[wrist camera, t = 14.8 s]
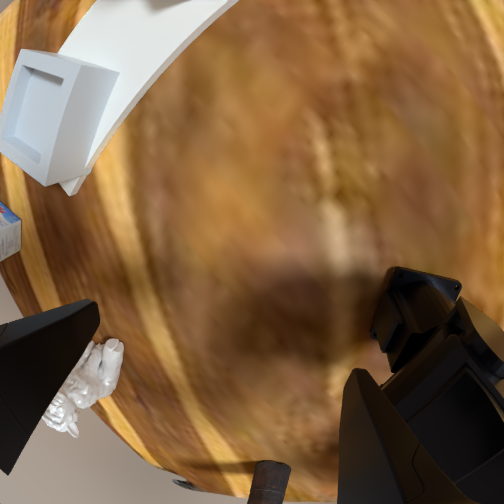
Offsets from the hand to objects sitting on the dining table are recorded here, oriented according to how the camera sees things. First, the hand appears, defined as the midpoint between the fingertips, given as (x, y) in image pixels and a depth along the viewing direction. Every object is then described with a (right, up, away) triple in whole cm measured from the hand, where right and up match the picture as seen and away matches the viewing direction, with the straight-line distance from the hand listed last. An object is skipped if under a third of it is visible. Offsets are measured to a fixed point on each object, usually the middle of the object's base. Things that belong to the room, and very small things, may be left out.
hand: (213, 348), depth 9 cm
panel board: (-8, +21, +7) cm, 24 cm away
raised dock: (-14, +16, +11) cm, 24 cm away
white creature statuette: (-17, -10, +22) cm, 29 cm away
